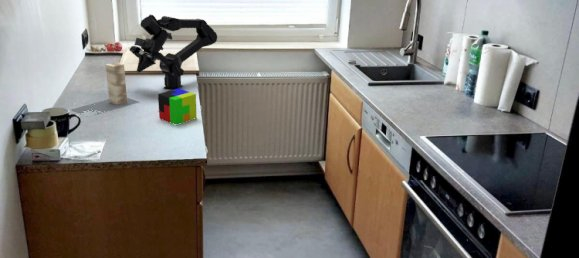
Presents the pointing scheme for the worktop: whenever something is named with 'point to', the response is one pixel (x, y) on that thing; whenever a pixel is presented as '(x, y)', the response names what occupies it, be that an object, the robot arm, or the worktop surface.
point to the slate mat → (103, 106)
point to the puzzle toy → (177, 106)
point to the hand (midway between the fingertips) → (137, 71)
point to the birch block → (116, 83)
